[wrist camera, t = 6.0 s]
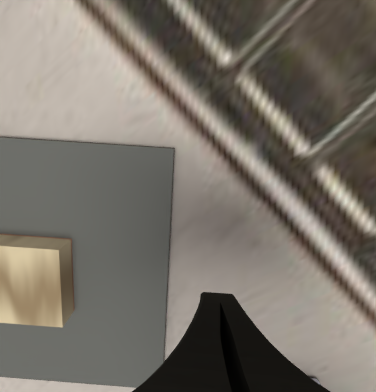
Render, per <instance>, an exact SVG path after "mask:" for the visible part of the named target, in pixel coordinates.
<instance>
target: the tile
mask: <svg viewBox="0 0 376 392" xmlns="http://www.w3.org/2000/svg"><path fill="white" fill-rule="evenodd" d="M73 312H74V285H73V258H72V239H70V238H55V237H41V236H27V235H13V234H0V323H9V324H22V325H36V326H49V327H62V328H63V326H64V325H65V323H66V322H67V320H68V319H69V317H70V316H71V315H72V313H73Z"/></svg>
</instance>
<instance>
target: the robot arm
mask: <svg viewBox="0 0 376 392" xmlns="http://www.w3.org/2000/svg"><path fill="white" fill-rule="evenodd" d="M132 392H330V391H328V390H327V389H325V388H324V387H322V386H321V384H320V382H319V381H318V380H317V379H315V378H310V377H309V376H307V375H306V374H305V373H304V372H302V371H301V370H300V369H299V368H297V367H296V366H295V365H294V364H292V363H291V362H290V361H289V360H288V359H287V358H286V357H285V356H283V355H282V354H281V353H280V352H279V351H278V350H277V349H276V348H275V347H274V346H273V345H272V344H271V343H270V342H269V341H268V340H267V339H266V338H265V336H264V335H263V334H262V333H261V332H260V331H259V329H258V328H257V327H256V326H255V324H254V323H253V322H252V321H251V319H250V318H249V317H248V315H247V314H246V313H245V311H244V310H243V309H242V307H241V306H240V304H239V303H238V301H237V300H236V298H235V297H234V296H233V294H224V293H209V292H203V293H202V294H201V297H200V303H199V306H198V309H197V311H196V313H195V316H194V318H193V320H192V322H191V324H190V326H189V327H188V329H187V331H186V333H185V334H184V336H183V338H182V339H181V341H180V342H179V344H178V345H177V346H176V348H175V349H174V350H173V352H172V353H171V354H170V355H169V357H168V358H167V359H166V360H165V361H164V363H163V364H162V365H161V366H160V367H159V368H158V369H157V370H156V371H155V372H154V373H153V374H152V375H151V376H150V377H149V378H148V379H147V380H146V381H145V382H143V383H142V384H141V385H140V386H139V387H137V388H136V389H135V390H134V391H132Z"/></svg>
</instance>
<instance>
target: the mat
mask: <svg viewBox="0 0 376 392" xmlns="http://www.w3.org/2000/svg"><path fill="white" fill-rule="evenodd" d="M173 166H174V148H165V147H149V146H134V145H118V144H103V143H87V142H72V141H56V140H41V139H25V138H10V137H0V234H13V235H27V236H41V237H55V238H70V239H72V258H73V285H74V312H73V313H72V315H71V316H70V317H69V319H68V320H67V322H66V323H65V325H64V326H63V328H62V327H49V326H36V325H22V324H9V323H0V377H10V378H22V379H35V380H47V381H60V382H72V383H85V384H97V385H110V386H122V387H135V388H137V387H139V386H140V385H141V384H142V383H143V382H145V381H146V380H147V379H148V378H149V377H150V376H151V375H152V374H153V373H154V372H155V371H156V370H157V369H158V368H159V367H160V366H161V365H162V364H163V363H164V348H165V328H166V307H167V287H168V267H169V247H170V226H171V206H172V186H173Z"/></svg>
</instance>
